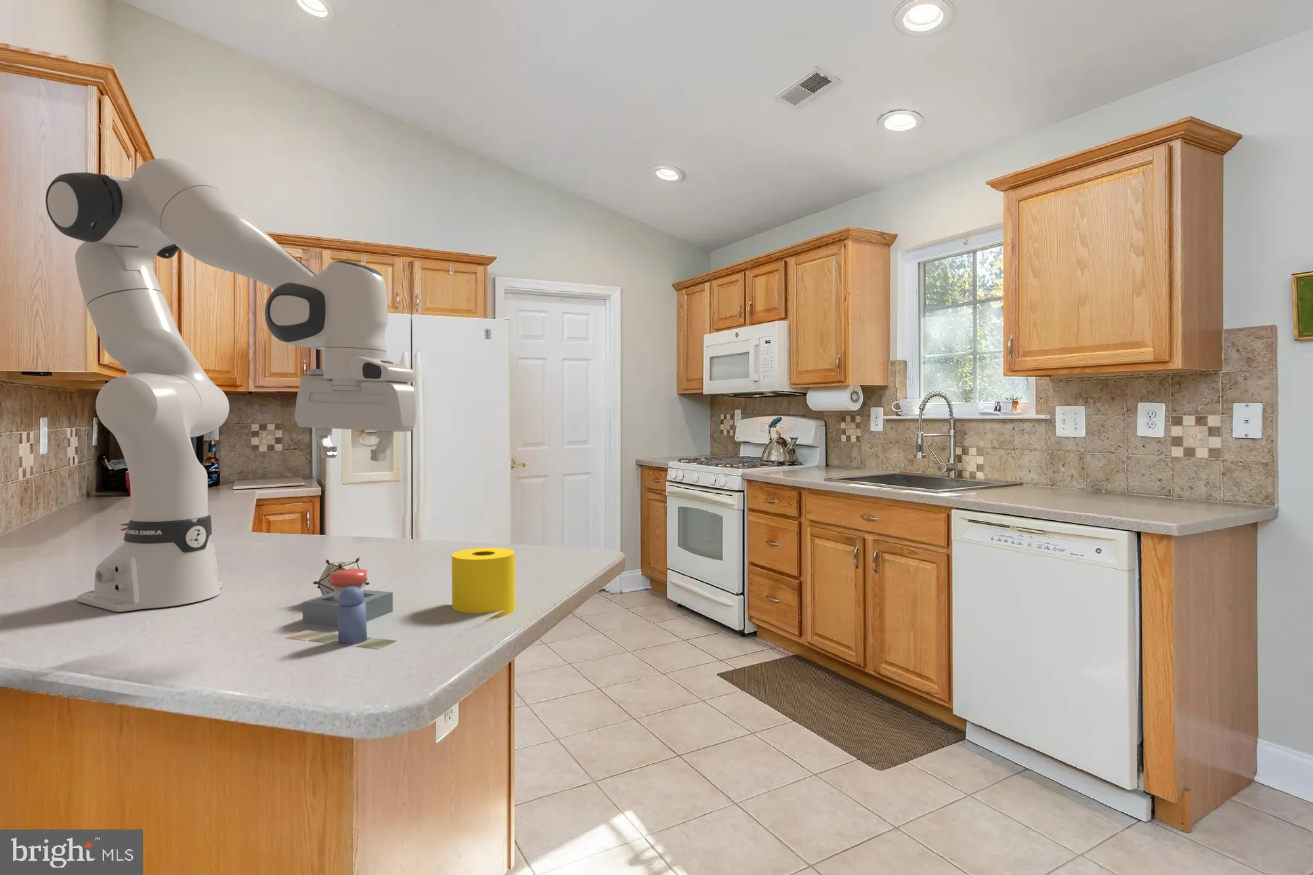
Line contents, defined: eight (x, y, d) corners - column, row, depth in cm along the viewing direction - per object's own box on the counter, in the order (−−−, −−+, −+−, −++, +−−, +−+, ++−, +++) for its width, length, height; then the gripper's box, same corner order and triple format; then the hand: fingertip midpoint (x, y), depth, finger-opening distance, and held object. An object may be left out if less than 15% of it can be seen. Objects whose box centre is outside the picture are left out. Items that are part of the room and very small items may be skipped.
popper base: (302, 628, 105) (302, 601, 105) (346, 612, 114) (346, 588, 114) (352, 634, 103) (351, 606, 102) (392, 617, 111) (392, 592, 111)
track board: (271, 649, 96) (271, 642, 96) (316, 632, 103) (316, 625, 103) (368, 662, 91) (368, 654, 91) (408, 643, 98) (408, 636, 98)
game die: (346, 630, 116) (342, 591, 111) (305, 610, 118) (298, 571, 112) (381, 594, 123) (379, 555, 117) (341, 575, 125) (337, 536, 119)
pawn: (332, 642, 95) (330, 588, 95) (352, 635, 99) (351, 582, 99) (352, 645, 94) (350, 590, 94) (372, 637, 97) (371, 584, 97)
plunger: (322, 620, 107) (322, 574, 106) (347, 611, 111) (346, 567, 111) (350, 623, 105) (350, 577, 105) (374, 614, 110) (374, 570, 110)
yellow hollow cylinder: (527, 610, 115) (526, 553, 115) (472, 623, 108) (471, 562, 108) (494, 599, 122) (493, 545, 122) (441, 610, 115) (440, 553, 115)
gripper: (285, 366, 108) (283, 456, 108) (396, 368, 101) (393, 464, 102) (317, 370, 114) (315, 455, 114) (423, 371, 107) (421, 462, 108)
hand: (353, 459), depth 108 cm, fingers open, 8 cm apart
